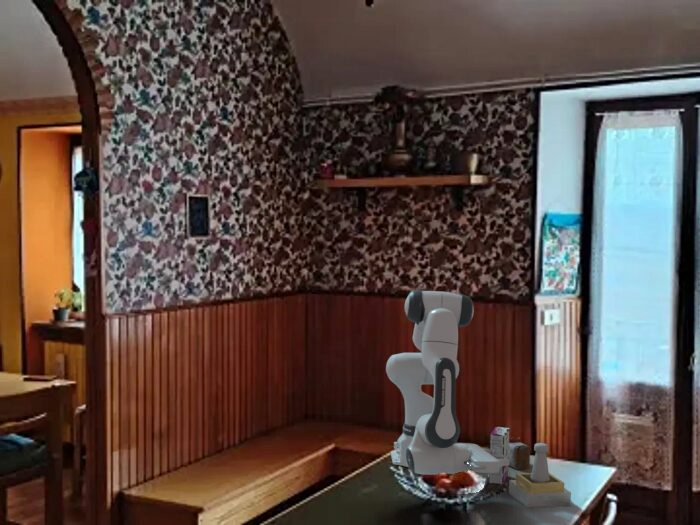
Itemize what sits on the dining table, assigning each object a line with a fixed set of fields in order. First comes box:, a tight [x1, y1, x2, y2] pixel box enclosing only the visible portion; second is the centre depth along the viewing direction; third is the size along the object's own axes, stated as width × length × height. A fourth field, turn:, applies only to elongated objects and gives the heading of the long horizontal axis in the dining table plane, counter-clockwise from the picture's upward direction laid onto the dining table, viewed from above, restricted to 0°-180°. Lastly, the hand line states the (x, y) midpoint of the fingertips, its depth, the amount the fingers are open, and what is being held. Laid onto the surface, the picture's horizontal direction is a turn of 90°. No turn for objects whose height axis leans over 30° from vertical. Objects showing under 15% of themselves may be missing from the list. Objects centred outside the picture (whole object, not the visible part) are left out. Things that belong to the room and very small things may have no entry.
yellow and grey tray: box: [508, 472, 572, 508], centre depth 263 cm, size 14×14×6 cm
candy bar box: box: [488, 426, 510, 485], centre depth 282 cm, size 11×5×16 cm, turn 161°
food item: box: [508, 436, 531, 470], centre depth 302 cm, size 14×8×10 cm, turn 22°
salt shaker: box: [530, 442, 550, 483], centre depth 262 cm, size 6×6×13 cm
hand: (502, 457), depth 260 cm, fingers open, 8 cm apart
